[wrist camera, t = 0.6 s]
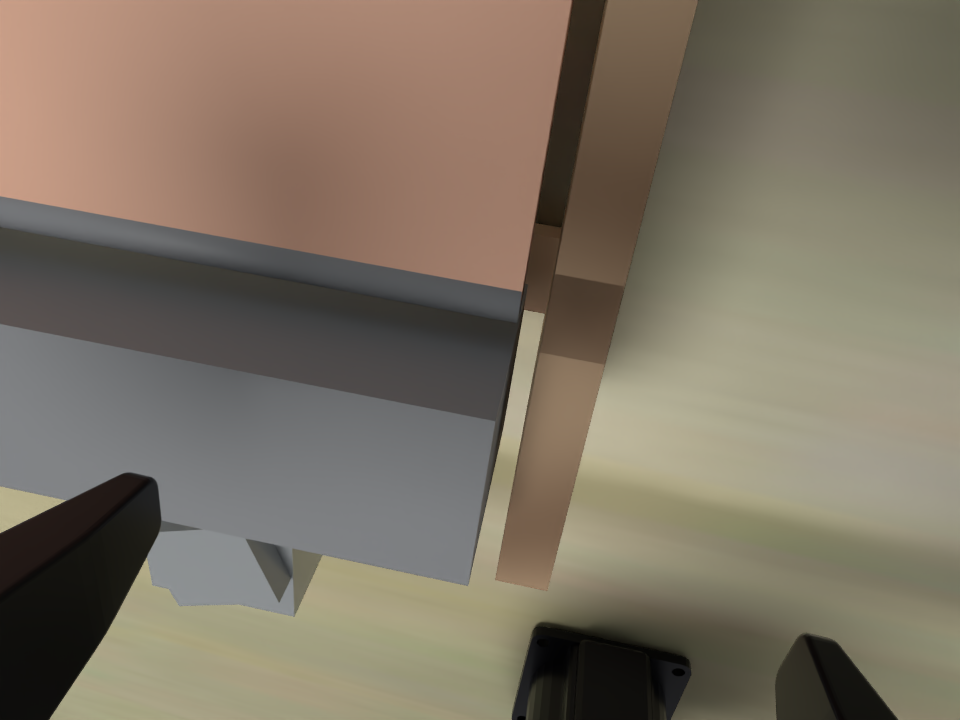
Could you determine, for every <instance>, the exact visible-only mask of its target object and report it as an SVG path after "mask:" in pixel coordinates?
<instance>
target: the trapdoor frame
mask: <svg viewBox="0 0 960 720" xmlns="http://www.w3.org/2000/svg"><path fill="white" fill-rule="evenodd" d="M697 3H698V0H605V5H604V11H603V16H602V21H601V26H600V31H599V36H598V42H597V47H596V52H595V57H594V62H593V68H592V73H591V78H590V83H589V88H588V93H587V99H586V104H585V109H584V114H583V119H582V124H581V130H580V135H579V140H578V145H577V150H576V156H575V161H574V166H573V171H572V176H571V181H570V187H569V192H568V197H567V202H566V207H565V213H564V218H563V223H562V228H560V227H554V226H548V225H543V224H537V223H535V229H534V235H533V241H532V246H531V252H530V258H529V264H528V270H527V276H526V282H525V284H528V289H527V295H526V300H525V306H524V310H528V311H533V312H539V313H544V314H545V316H544V321H543V326H542V332H541V337H540V342H539V347H538V352H537V358H536V363H535V368H534V373H533V378H532V384H531V389H530V395H529V400H528V405H527V411H526V416H525V422H524V427H523V432H522V438H521V443H520V449H519V454H518V459H517V465H516V470H515V476H514V481H513V486H512V492H511V497H510V503H509V508H508V513H507V519H506V524H505V530H504V535H503V540H502V546H501V551H500V557H499V562H498V567H497V573H496V578H495V580H498V581H502V582H507V583H512V584H517V585H521V586H526V587H531V588H536V589H540V590H545V591H547V590H548V586H549V582H550V578H551V574H552V570H553V566H554V562H555V558H556V554H557V551H558V547H559V543H560V539H561V535H562V531H563V527H564V523H565V519H566V515H567V511H568V508H569V504H570V500H571V496H572V492H573V488H574V484H575V480H576V476H577V472H578V468H579V465H580V461H581V457H582V453H583V449H584V445H585V441H586V437H587V433H588V429H589V425H590V422H591V418H592V414H593V410H594V406H595V402H596V398H597V394H598V390H599V386H600V382H601V379H602V375H603V371H604V367H605V363H606V359H607V355H608V351H609V347H610V343H611V339H612V336H613V332H614V328H615V324H616V320H617V316H618V312H619V308H620V304H621V300H622V296H623V293H624V289H625V285H626V281H627V277H628V273H629V269H630V265H631V261H632V257H633V253H634V249H635V246H636V242H637V238H638V234H639V230H640V226H641V222H642V218H643V214H644V210H645V206H646V203H647V199H648V195H649V191H650V187H651V183H652V179H653V175H654V171H655V167H656V163H657V160H658V156H659V152H660V148H661V144H662V140H663V136H664V132H665V128H666V124H667V120H668V117H669V113H670V109H671V105H672V101H673V97H674V93H675V89H676V85H677V81H678V77H679V74H680V70H681V66H682V62H683V58H684V54H685V50H686V46H687V42H688V38H689V34H690V31H691V27H692V23H693V19H694V15H695V11H696V7H697Z"/></svg>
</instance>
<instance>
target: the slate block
mask: <svg viewBox="0 0 960 720" xmlns="http://www.w3.org/2000/svg"><path fill="white" fill-rule="evenodd" d="M321 557H322V555H321V554H316V553H311V552H307V551H302V550H297V549H293V548H288V547H283V546H279V545H274V544H269V543H265V542H260V541H255V540H250V539H246V538H241V537H236V536H232V535H227V534H222V533H218V532H213V531H208V530H204V529H199V528H194V527H189V526H185V525H180V524H175V523H171V522H166V521H162V522H161V528H160V531H159V534H158V536H157V539H156V540H155V542H154V544H153V546H152V548H151V550H150V552H149V554H148V556H147V559H148V564H149V569H150V575H151V580H152V585H153V586H158V587H162V588H167V589H169V590H170V592H171V594H172V595H173V597H174V598H175V600H176V602H177V603H178V605H179V606H195V605H234V604H239V605H243V606H248V607H253V608H257V609H262V610H266V611H271V612H275V613H280V614H284V615H289V616H293V617H294V616H295V614H296V612H297V610H298V608H299V605H300V603H301V601H302V599H303V597H304V594H305V592H306V590H307V588H308V586H309V583H310V581H311V579H312V577H313V575H314V572H315V570H316V568H317V566H318V564H319V561H320V559H321Z"/></svg>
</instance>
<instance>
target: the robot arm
mask: <svg viewBox="0 0 960 720" xmlns="http://www.w3.org/2000/svg"><path fill="white" fill-rule="evenodd" d="M161 522H162V517H161V508H160V499H159V489H158V484H157V482H156V480H155V479H154V478H152V477H149V476H145V475H141V474H137V473H132V472H126V473H122V474H120V475H118V476H116V477H114V478H112V479H110V480H108V481H106V482H104V483H102V484H100V485H98V486H96V487H93V488H91V489H89V490H87V491H85V492H83V493H81V494H79V495H77V496H75V497H73V498H71V499H69V500H67V501H65V502H63V503H61V504H59V505H57V506H55V507H53V508H51V509H49V510H47V511H45V512H43V513H41V514H39V515H37V516H34V517H32V518H30V519H28V520H26V521H24V522H22V523H20V524H18V525H16V526H14V527H12V528H10V529H8V530H6V531H4V532H2V533H0V720H49V719H50V717H51V716H52V714H53V713H54V711H55V710H56V708H57V707H58V705H59V704H60V702H61V701H62V700H63V698H64V697H65V695H66V694H67V692H68V691H69V689H70V688H71V686H72V685H73V683H74V682H75V680H76V679H77V677H78V676H79V674H80V673H81V671H82V670H83V668H84V667H85V665H86V664H87V662H88V661H89V659H90V658H91V656H92V655H93V653H94V652H95V650H96V649H97V647H98V645H99V644H100V642H101V641H102V639H103V638H104V636H105V634H106V633H107V631H108V629H109V627H110V626H111V624H112V622H113V620H114V619H115V617H116V615H117V613H118V611H119V609H120V607H121V605H122V603H123V601H124V600H125V598H126V596H127V594H128V592H129V590H130V588H131V586H132V584H133V582H134V580H135V579H136V577H137V575H138V573H139V571H140V569H141V567H142V565H143V563H144V561H145V560H146V558H147V556H148V554H149V552H150V550H151V548H152V546H153V544H154V542H155V540H156V539H157V536H158V534H159V531H160V528H161ZM690 676H691V663H690V661H689V660H688V659H687V658H685V657H682V656H678V655H674V654H669V653H665V652H660V651H655V650H651V649H646V648H641V647H637V646H632V645H627V644H623V643H618V642H614V641H609V640H604V639H600V638H595V637H590V636H586V635H581V634H576V633H572V632H567V631H562V630H558V629H553V628H549V627H537V628H535V629H534V630H533V631H532V634H531V638H530V642H529V646H528V650H527V654H526V658H525V662H524V666H523V670H522V674H521V678H520V682H519V686H518V690H517V694H516V698H515V702H514V706H513V711H512V720H671V717H672V715H673V713H674V711H675V709H676V707H677V704H678V702H679V700H680V698H681V696H682V694H683V691H684V689H685V687H686V685H687V683H688V681H689V678H690ZM775 691H776V716H777V720H898V719H897V717H896V716H895V715H894V714H893V712H892V711H891V710H890V709H889V707H888V706H887V705H886V704H885V702H884V701H883V700H882V698H881V697H880V696H879V695H878V693H877V692H876V691H875V690H874V688H873V687H872V686H871V685H870V683H869V682H868V681H867V679H866V678H865V677H864V676H863V674H862V673H861V672H860V671H859V669H858V668H857V667H856V666H855V664H854V663H853V662H852V660H851V659H850V658H849V657H848V655H847V654H846V653H845V652H844V650H843V649H842V648H841V647H840V645H839V644H838V643H837V642H835V641H834V640H832V639H830V638H826V637H822V636H818V635H813V634H809V633H803V634H801V635H800V636H799V637H798V638H797V639H796V641H795V643H794V644H793V646H792V648H791V649H790V651H789V653H788V654H787V656H786V658H785V659H784V661H783V663H782V664H781V666H780V668H779V670H778V673H777V677H776V684H775Z"/></svg>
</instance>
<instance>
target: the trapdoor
mask: <svg viewBox="0 0 960 720" xmlns="http://www.w3.org/2000/svg"><path fill="white" fill-rule="evenodd" d="M573 2H574V0H0V486H2V487H6V488H11V489H16V490H21V491H25V492H30V493H35V494H39V495H44V496H49V497H53V498H58V499H63V500H69V499H71V498H73V497H75V496H77V495H79V494H81V493H83V492H85V491H87V490H89V489H91V488H93V487H96V486H98V485H100V484H102V483H104V482H106V481H108V480H110V479H112V478H114V477H116V476H118V475H120V474H122V473H126V472H132V473H137V474H141V475H145V476H149V477H152V478H154V479H155V480H156V482H157V484H158V489H159V499H160V508H161V517H162V521H166V522H171V523H175V524H180V525H185V526H189V527H194V528H199V529H204V530H208V531H213V532H218V533H222V534H227V535H232V536H236V537H241V538H246V539H250V540H255V541H260V542H265V543H269V544H274V545H279V546H283V547H288V548H293V549H297V550H302V551H307V552H311V553H316V554H321V555H326V556H330V557H335V558H340V559H344V560H349V561H354V562H358V563H363V564H368V565H372V566H377V567H382V568H387V569H391V570H396V571H401V572H405V573H410V574H415V575H419V576H424V577H429V578H433V579H438V580H443V581H448V582H452V583H457V584H462V585H466V586H468V584H469V579H470V575H471V570H472V566H473V561H474V557H475V552H476V548H477V543H478V539H479V534H480V530H481V525H482V521H483V516H484V512H485V508H486V503H487V499H488V494H489V490H490V485H491V481H492V476H493V472H494V467H495V463H496V458H497V454H498V449H499V445H500V440H501V436H502V431H503V426H504V421H505V415H506V409H507V404H508V398H509V392H510V386H511V381H512V375H513V369H514V363H515V358H516V352H517V346H518V340H519V335H520V329H521V323H522V318H523V312H524V306H525V300H526V295H527V289H528V284H525V282H526V276H527V270H528V264H529V258H530V252H531V246H532V241H533V235H534V229H535V223H536V217H537V211H538V206H539V200H540V194H541V188H542V182H543V177H544V171H545V165H546V159H547V153H548V147H549V142H550V136H551V130H552V124H553V118H554V112H555V107H556V101H557V95H558V89H559V83H560V78H561V72H562V66H563V60H564V54H565V48H566V43H567V37H568V31H569V25H570V19H571V13H572V8H573Z"/></svg>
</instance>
